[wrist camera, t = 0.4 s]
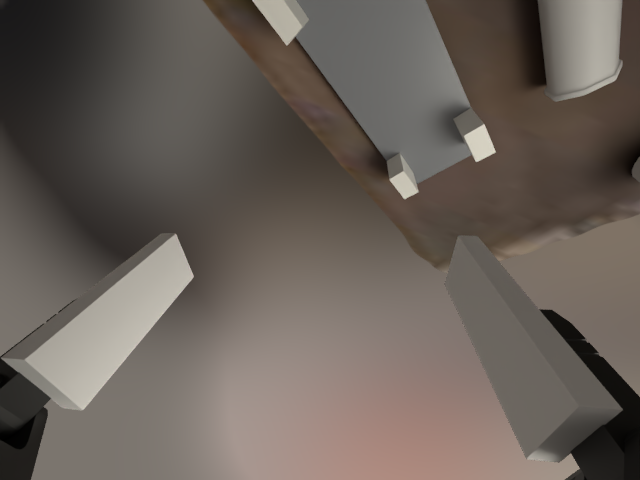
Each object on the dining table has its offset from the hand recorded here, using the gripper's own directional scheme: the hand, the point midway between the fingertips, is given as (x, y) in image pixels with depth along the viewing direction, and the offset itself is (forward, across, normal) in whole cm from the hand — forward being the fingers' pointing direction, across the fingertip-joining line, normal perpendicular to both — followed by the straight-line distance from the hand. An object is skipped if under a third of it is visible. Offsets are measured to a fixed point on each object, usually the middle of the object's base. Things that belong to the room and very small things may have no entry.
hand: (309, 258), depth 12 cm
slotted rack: (+25, +6, +8) cm, 27 cm away
